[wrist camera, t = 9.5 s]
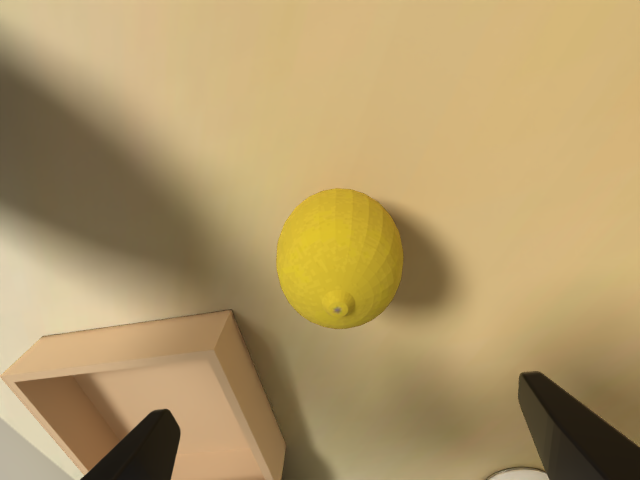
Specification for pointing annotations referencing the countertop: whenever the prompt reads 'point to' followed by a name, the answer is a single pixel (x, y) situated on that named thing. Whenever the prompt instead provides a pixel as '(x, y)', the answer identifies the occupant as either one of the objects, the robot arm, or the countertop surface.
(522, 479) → the can
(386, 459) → the countertop surface
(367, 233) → the lemon
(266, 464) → the box
